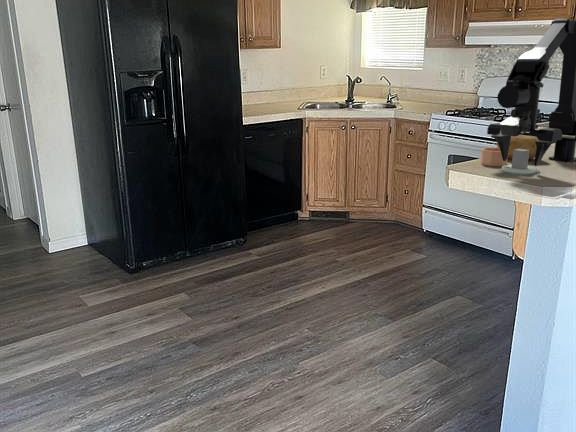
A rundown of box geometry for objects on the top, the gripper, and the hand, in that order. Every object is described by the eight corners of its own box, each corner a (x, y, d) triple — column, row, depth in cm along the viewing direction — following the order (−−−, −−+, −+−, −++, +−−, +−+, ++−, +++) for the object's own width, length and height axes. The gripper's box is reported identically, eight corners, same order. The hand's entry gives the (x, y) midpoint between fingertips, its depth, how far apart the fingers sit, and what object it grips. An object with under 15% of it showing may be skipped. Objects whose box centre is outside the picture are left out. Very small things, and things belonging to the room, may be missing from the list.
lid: (512, 166, 159) (515, 146, 157) (543, 171, 152) (545, 150, 150) (495, 170, 154) (497, 149, 152) (525, 175, 147) (528, 154, 145)
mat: (511, 166, 160) (511, 165, 160) (548, 172, 152) (548, 171, 152) (489, 171, 154) (489, 170, 154) (527, 178, 146) (527, 177, 146)
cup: (489, 161, 168) (490, 146, 167) (510, 164, 163) (512, 149, 161) (475, 164, 164) (477, 149, 163) (497, 168, 159) (498, 152, 157)
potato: (537, 165, 162) (540, 138, 160) (490, 159, 171) (492, 133, 169) (548, 160, 169) (551, 134, 167) (502, 155, 178) (504, 130, 176)
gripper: (478, 105, 150) (473, 162, 155) (544, 110, 136) (537, 172, 141) (501, 102, 157) (495, 157, 161) (567, 107, 143) (559, 166, 147)
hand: (519, 163), depth 152 cm, fingers open, 9 cm apart
